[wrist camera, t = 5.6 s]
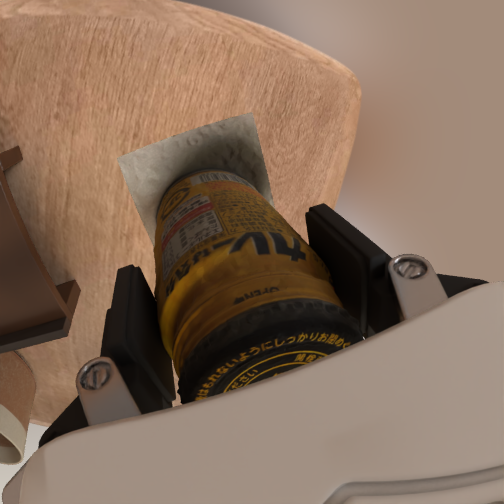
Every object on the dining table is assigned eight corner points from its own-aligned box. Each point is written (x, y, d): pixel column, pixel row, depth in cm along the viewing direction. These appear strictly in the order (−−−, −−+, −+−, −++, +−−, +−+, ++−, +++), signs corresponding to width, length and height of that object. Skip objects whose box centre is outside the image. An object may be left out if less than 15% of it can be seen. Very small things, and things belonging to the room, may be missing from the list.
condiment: (172, 286, 19) (206, 472, 9) (117, 157, 15) (41, 294, 4) (282, 245, 20) (396, 394, 10) (250, 111, 15) (418, 159, 5)
